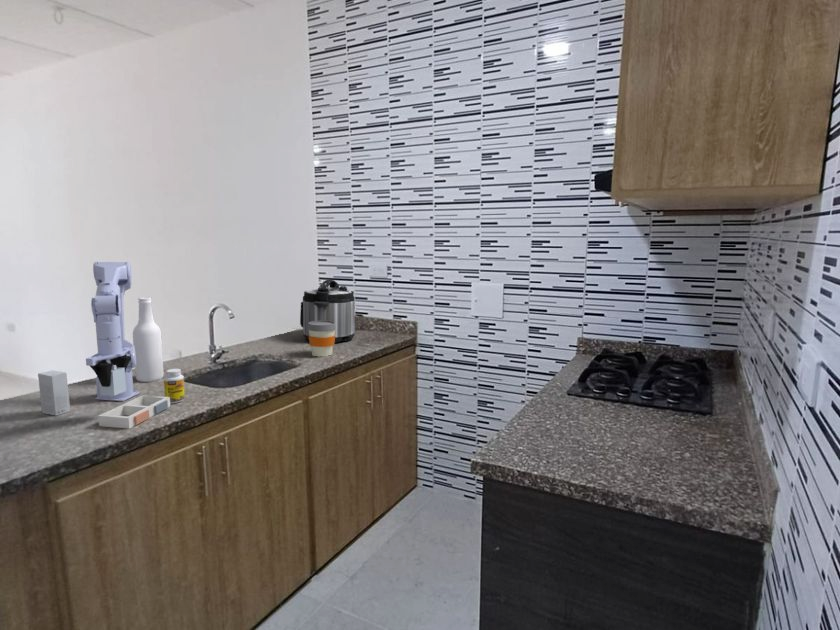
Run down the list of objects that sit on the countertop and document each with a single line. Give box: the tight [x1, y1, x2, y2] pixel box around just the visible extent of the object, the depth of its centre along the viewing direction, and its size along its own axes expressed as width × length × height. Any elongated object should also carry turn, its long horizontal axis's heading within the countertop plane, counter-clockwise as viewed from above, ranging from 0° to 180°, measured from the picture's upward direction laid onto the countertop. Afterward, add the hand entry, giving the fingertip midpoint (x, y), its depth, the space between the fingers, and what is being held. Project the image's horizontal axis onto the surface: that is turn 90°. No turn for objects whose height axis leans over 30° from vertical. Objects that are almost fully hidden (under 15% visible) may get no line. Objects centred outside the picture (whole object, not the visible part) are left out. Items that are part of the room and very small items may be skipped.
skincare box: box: [37, 370, 71, 417], centre depth 131 cm, size 6×4×12 cm
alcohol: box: [132, 296, 165, 383], centre depth 162 cm, size 9×9×30 cm
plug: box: [99, 365, 126, 396], centre depth 129 cm, size 4×4×8 cm
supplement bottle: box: [163, 368, 186, 405], centre depth 143 cm, size 6×6×10 cm
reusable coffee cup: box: [308, 321, 336, 357], centre depth 206 cm, size 13×13×15 cm
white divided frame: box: [97, 394, 171, 429], centre depth 131 cm, size 10×17×3 cm, turn 174°
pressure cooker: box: [299, 279, 356, 343], centre depth 238 cm, size 30×28×32 cm
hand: (112, 383), depth 129 cm, fingers closed on plug, 4 cm apart
